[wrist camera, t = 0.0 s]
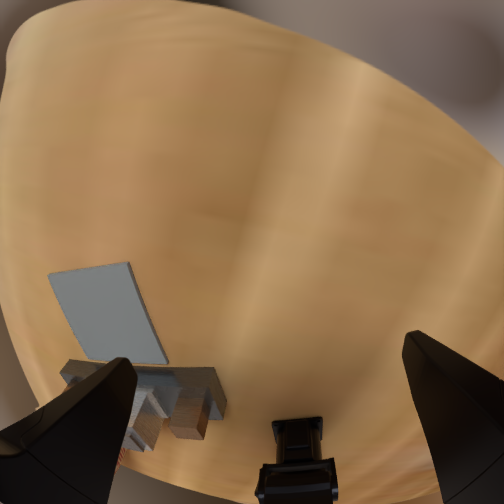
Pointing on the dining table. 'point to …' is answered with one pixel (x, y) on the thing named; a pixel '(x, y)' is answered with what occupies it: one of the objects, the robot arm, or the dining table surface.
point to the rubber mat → (108, 313)
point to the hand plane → (170, 393)
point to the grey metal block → (143, 424)
